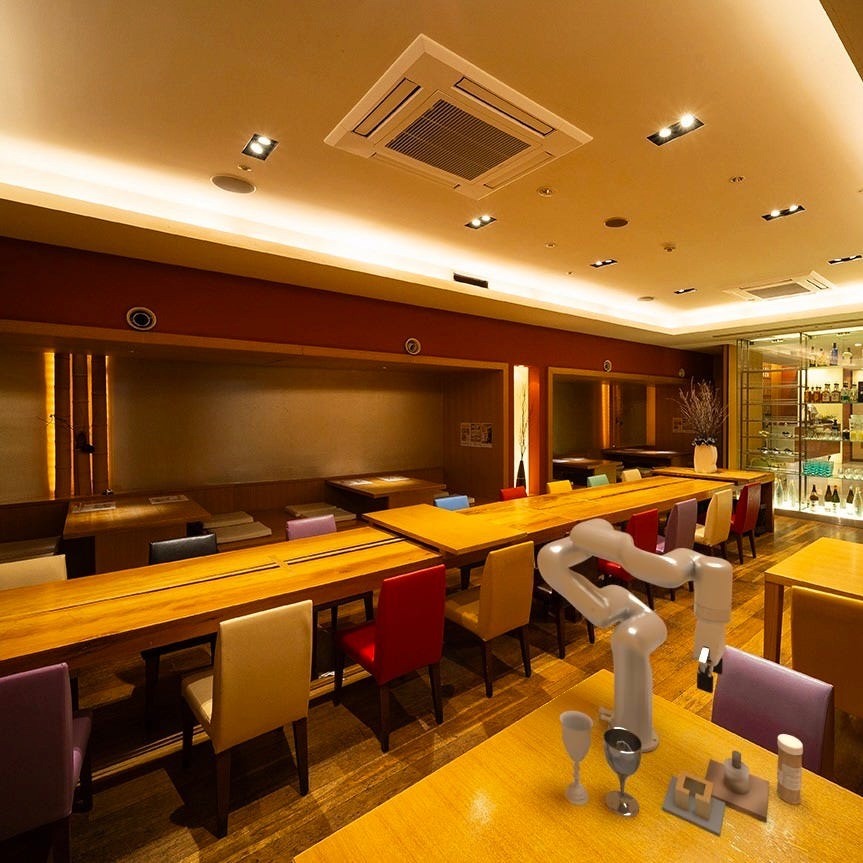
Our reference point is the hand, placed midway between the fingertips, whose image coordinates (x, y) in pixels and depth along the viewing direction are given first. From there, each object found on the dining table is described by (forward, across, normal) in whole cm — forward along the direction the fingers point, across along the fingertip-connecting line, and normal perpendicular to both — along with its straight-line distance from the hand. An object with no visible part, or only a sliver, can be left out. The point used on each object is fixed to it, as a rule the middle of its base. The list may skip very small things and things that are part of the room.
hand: (709, 681), depth 112 cm
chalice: (+24, +26, -21) cm, 41 cm away
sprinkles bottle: (+24, -5, +15) cm, 29 cm away
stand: (+24, +1, +6) cm, 24 cm away
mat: (+24, +11, 0) cm, 26 cm away
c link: (+23, +11, 0) cm, 26 cm away
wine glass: (+24, +21, -12) cm, 34 cm away
